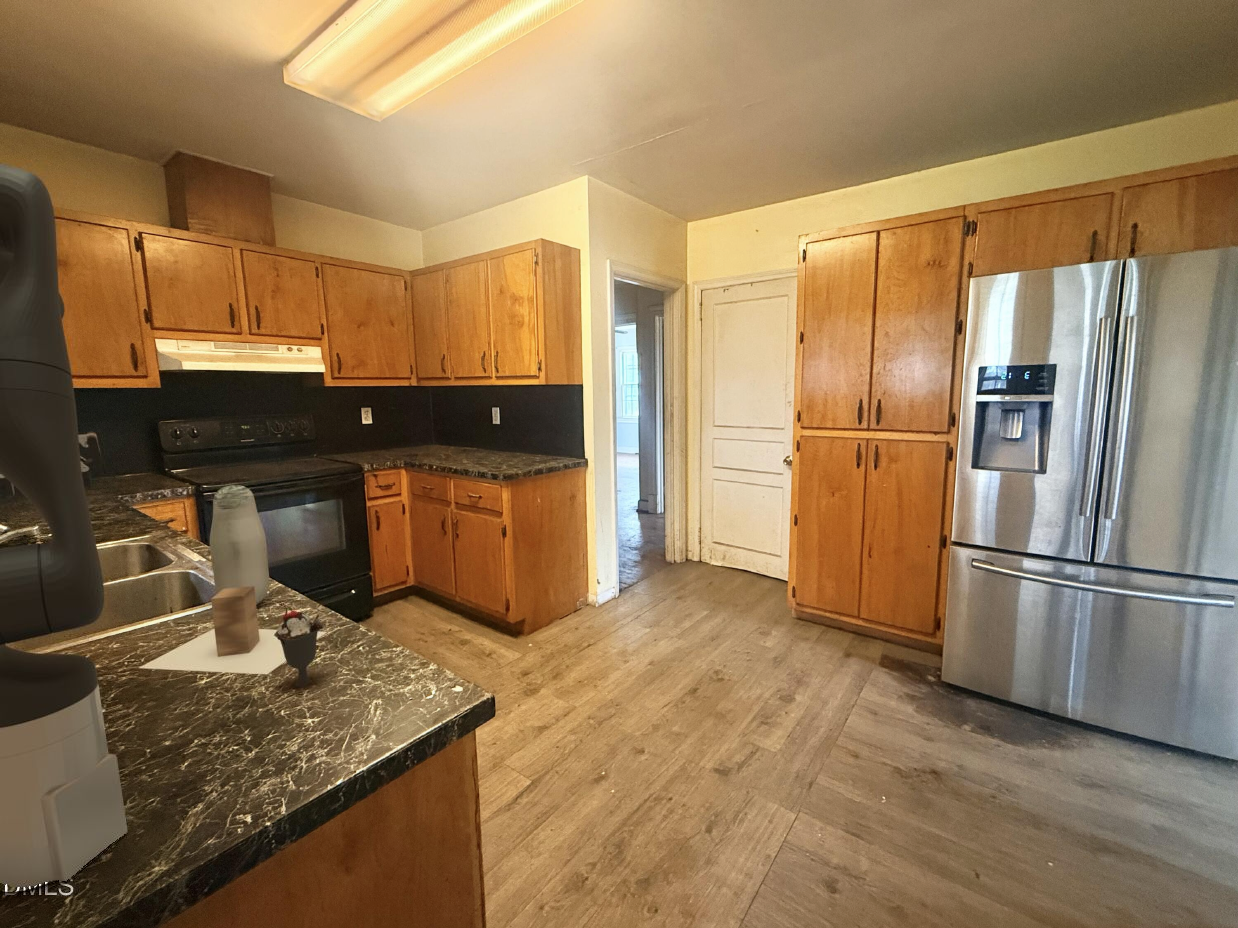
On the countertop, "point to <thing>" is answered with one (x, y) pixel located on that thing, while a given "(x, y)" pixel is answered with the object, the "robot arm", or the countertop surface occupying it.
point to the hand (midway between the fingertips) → (48, 491)
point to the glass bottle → (238, 542)
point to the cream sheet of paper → (204, 656)
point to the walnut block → (235, 621)
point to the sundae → (298, 642)
